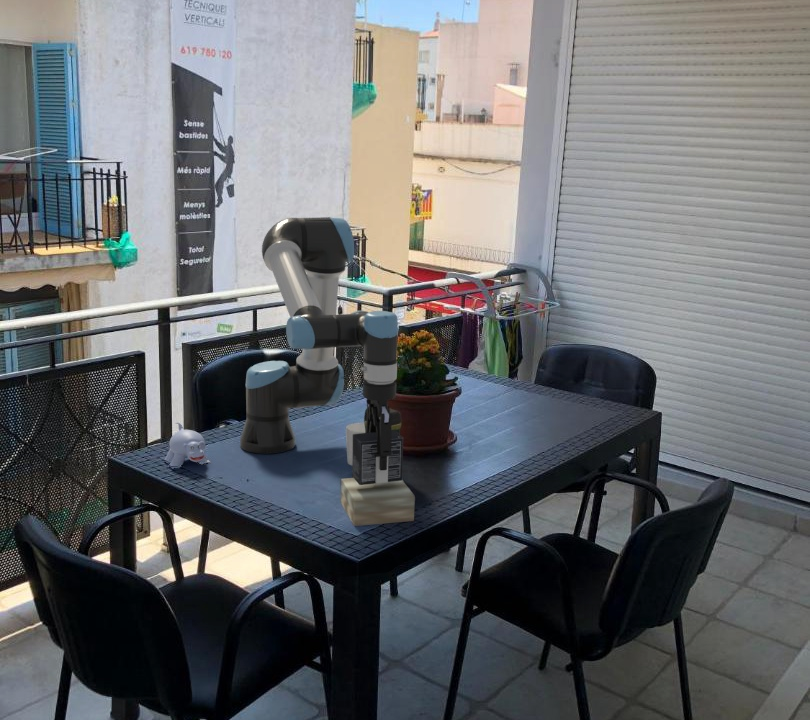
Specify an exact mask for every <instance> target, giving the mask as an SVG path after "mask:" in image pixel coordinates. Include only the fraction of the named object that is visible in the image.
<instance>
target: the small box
mask: <svg viewBox="0 0 810 720" xmlns="http://www.w3.org/2000/svg"><path fill="white" fill-rule="evenodd" d="M391 452H392V454H391V456H388V482H392V481H401V480H403V464H404V463H403V462H404V461H403V459H404V457H403V454H404V453H403V452H404V437H403V436H401V435H400V433H399V434H398V433H397V432H396V431H395V430H392V431H391ZM374 454H377V437H376V432H371V433H361V434H353V459H352V460H353V461H352V466H351V467H352V471H351V472H352V473H351V476H352V478H354V479H355V480H356V481H357V482H358V484H359V485H366V484H374V483H376V482H375V478H376V457H375V456H374Z"/></svg>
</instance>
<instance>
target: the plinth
mask: <svg viewBox="0 0 810 720" xmlns="http://www.w3.org/2000/svg"><path fill="white" fill-rule="evenodd" d="M340 482H341V483H340V504H341V505H342V508H343V509H344V511H345V512H346V514H347V516H348V517H349V520H350V521H351V523H352V526H354V527H358V526H359V527H361V526H368V525H380V524H381V525H383V524H392V523H393V524H395V523H402V522H403V523H404V522H414V521H415V504H416V503H415V501H416V497H415V494H414V493H413V492H412V491H411V489H410V488H409V487H408V486H407V484H406V483H405V481H404V480H403V479H402V480H401V481H392V482H387V483H374V484H366V485H359V484H358V482H357V481H356V480H355V479H354V477H350V478H349V477H347V478H341V479H340Z"/></svg>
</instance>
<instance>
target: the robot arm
mask: <svg viewBox="0 0 810 720" xmlns="http://www.w3.org/2000/svg"><path fill="white" fill-rule="evenodd" d="M261 255H262V259H263V262H264V264H265V266H266V267H267V268H268V270H270V271H271V272H272V273H273V276H274V278H275V281H276V283H277V284H276V285H277V286H278V289H279V292H280V294H281V297H282V299H283V302H284V304H285V307H286V309H287V313H288V315H289V318H288V319H287V321H286V325H285V327H286V328H285V330H286V331H285V333H286V339H287V343H288V345H289V347H290V348H291V349H293V350H302V352H301V354H300V355H298V356H297V357H296V360H295V362H296V363H295V365H292V366H290V365H289V363H288V362H287V361H284V360H270V361H269V360H267V361H263V362H259V363H256V364H254V365H253V366H252V365H251V366H250V367H249V368H248V369H247V371H246V376H245V377H246V378H245V386H244V387H245V400H246V402H245V403H246V404H245V405H246V409H245V410H246V416H245V417H246V420H245V423H244V426H243V429H242V432H241V435H240V439H239V440H240V448H241V449H242V450H244V451H246V452H249V453H254V454H261V455H263V454H264V455H265V454H267V455H269V454H270V455H271V454H279V453H284V452H287V451H290V450H292V449H293V448H295V446H296V436H295V434H294V431H293V427H292V424H291V421H290V418H289V416H290V415H289V410H290V409H298V408H311V407H325V406H330V405H331V406H332V405H334V404H336V403H338V401H340V399H341V397H342V395H343V392H344V385H345V379H344V377H345V375H344V374H345V373H344V369H343V366H342V365H341V364H340V363H339V360H338V358H336V357H335V356H334V350H335V349H334V348H348V347H349V348H350V347H362V348H363V366H361V367H360V368H361V371H362V372H363V379H364V381H362V396H363V398H365V399H366V409H367V420H366V433H371V432H376V437H377V454H374V456H375V457H376V478H375V482H376V483H387V482H388V456H391V454H392V452H391V423H392V413H390V409H391V408H390V406H389V404H388V402H389V401H390V400H393V399H395V398H396V397H397V382H396V380H397V378H398V377H397V376H398V375H397V374H398V359H397V358H398V337H399V336H398V335H399V325H398V323H399V321H398V315H397V314H396V313H394V312H392V311H387V310H372V311H366V310H355V311H353V312H351V313H350V314H349V313H348V314H347V313H346V314H337V307H338V294H339V293H338V291H339V278H340V275H342V274H343V273H344V272H345V271H346V263H350V262H352V261H353V259H354V256H355V242H354V236H353V232H352V229H351V226H350V224H349V223H348V221H347V220H346V219H344V218H340V217H331V216H327V217H325V216H324V217H322V216H321V217H289V218H288V217H287V218H284V219H282V220H280V221H278V222H276V223H275V224H273V226H271V228H270V229H269V230H267V233H266V234H265V236H264V239H263V241H262V245H261Z"/></svg>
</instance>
